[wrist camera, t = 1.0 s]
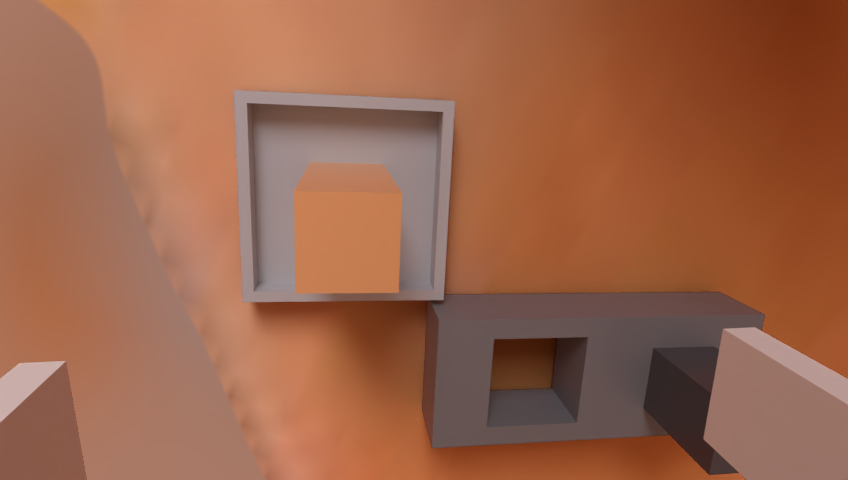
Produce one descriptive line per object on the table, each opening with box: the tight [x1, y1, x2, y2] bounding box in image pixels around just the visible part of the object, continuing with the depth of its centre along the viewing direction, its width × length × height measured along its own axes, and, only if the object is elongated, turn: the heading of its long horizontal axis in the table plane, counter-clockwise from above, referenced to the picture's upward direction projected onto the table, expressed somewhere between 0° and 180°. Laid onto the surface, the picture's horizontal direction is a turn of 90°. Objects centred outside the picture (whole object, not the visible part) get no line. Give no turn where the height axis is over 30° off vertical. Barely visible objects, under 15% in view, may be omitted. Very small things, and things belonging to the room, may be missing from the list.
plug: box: [294, 162, 402, 294], centre depth 25 cm, size 4×4×10 cm
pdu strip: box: [422, 292, 765, 475], centre depth 30 cm, size 8×20×10 cm, turn 87°
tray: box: [234, 90, 455, 302], centre depth 29 cm, size 11×11×2 cm
